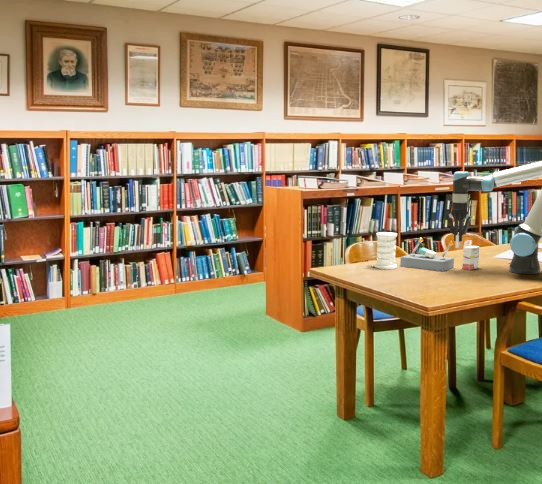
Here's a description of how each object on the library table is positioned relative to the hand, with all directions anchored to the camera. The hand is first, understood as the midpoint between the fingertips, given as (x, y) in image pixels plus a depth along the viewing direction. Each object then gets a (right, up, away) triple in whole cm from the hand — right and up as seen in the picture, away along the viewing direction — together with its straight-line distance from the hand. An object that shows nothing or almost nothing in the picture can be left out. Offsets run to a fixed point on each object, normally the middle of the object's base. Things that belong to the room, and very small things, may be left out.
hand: (457, 247), depth 331 cm
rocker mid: (-13, -4, +11) cm, 18 cm away
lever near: (-6, -5, +6) cm, 10 cm away
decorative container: (-35, -11, +11) cm, 38 cm away
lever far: (-20, -3, +16) cm, 26 cm away
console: (-13, -10, +12) cm, 20 cm away
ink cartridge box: (+9, -11, +8) cm, 16 cm away
